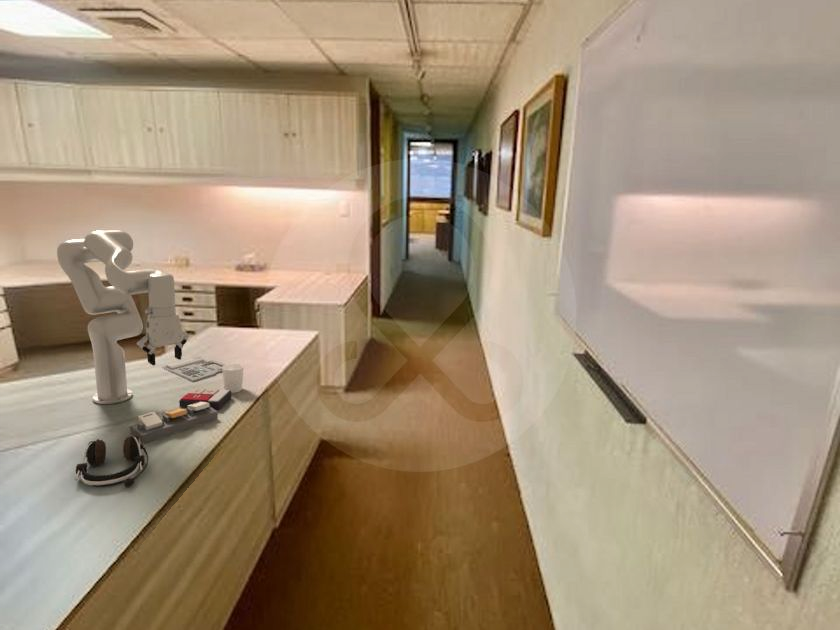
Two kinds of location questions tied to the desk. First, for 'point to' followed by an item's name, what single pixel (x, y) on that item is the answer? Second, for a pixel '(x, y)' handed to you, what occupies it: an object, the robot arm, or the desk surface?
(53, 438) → the desk surface
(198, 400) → the calculator
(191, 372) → the office telephone
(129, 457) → the headset
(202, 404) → the rocker
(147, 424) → the rocker
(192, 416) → the rocker switch panel
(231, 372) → the white cup
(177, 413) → the rocker middle
